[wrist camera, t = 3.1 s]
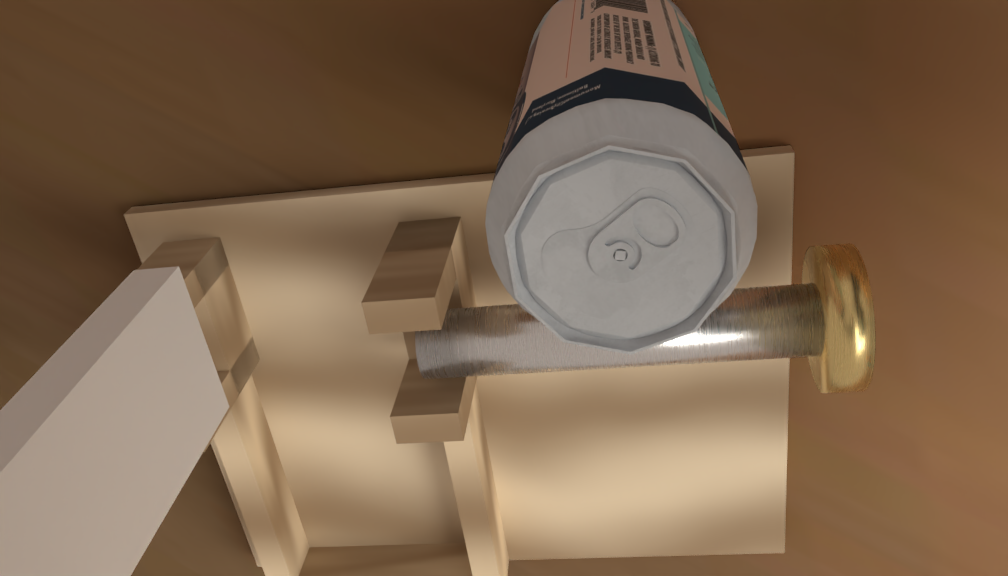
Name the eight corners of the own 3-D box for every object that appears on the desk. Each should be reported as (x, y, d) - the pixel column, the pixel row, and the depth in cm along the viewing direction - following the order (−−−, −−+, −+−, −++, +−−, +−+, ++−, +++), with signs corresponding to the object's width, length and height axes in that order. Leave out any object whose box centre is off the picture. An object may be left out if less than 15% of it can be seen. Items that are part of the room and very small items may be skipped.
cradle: (132, 206, 29) (37, 291, 24) (790, 145, 26) (835, 227, 21) (262, 555, 36) (210, 672, 32) (781, 541, 33) (812, 668, 29)
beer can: (494, 60, 25) (420, 248, 15) (619, -64, 23) (634, 54, 13) (605, 173, 27) (608, 417, 16) (731, 66, 25) (827, 266, 14)
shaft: (423, 252, 26) (397, 322, 23) (840, 219, 24) (880, 289, 21) (445, 362, 28) (424, 442, 25) (834, 338, 26) (869, 421, 23)
